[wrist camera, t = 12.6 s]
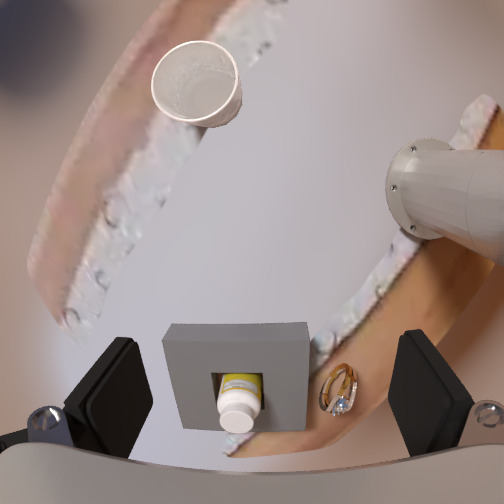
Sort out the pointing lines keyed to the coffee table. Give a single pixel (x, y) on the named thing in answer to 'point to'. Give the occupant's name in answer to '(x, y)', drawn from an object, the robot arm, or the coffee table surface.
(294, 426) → the socket block
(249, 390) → the supplement bottle
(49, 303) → the coffee table surface
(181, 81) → the white cup
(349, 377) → the ring
